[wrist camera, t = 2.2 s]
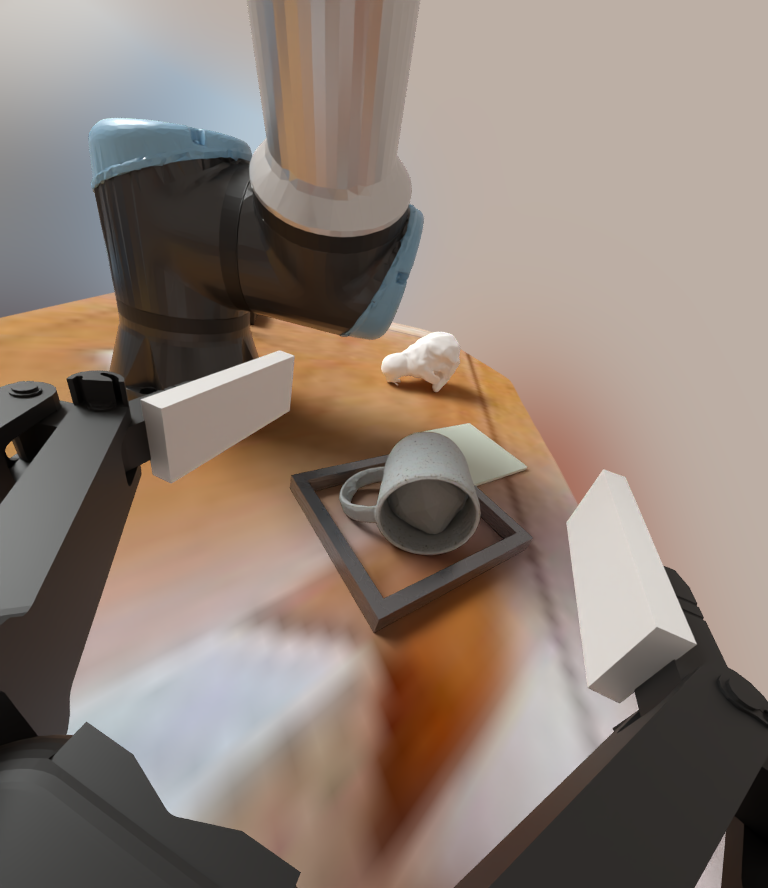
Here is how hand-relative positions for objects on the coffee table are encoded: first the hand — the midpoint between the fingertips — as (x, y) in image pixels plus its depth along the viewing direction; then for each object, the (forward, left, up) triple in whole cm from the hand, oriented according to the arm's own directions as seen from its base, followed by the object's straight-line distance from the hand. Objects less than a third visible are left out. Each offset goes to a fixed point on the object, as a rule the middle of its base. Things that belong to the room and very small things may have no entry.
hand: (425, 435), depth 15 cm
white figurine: (-30, +27, -14) cm, 43 cm away
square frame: (-6, +8, -14) cm, 17 cm away
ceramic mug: (-7, +8, -14) cm, 18 cm away
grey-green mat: (-12, +22, -14) cm, 29 cm away
